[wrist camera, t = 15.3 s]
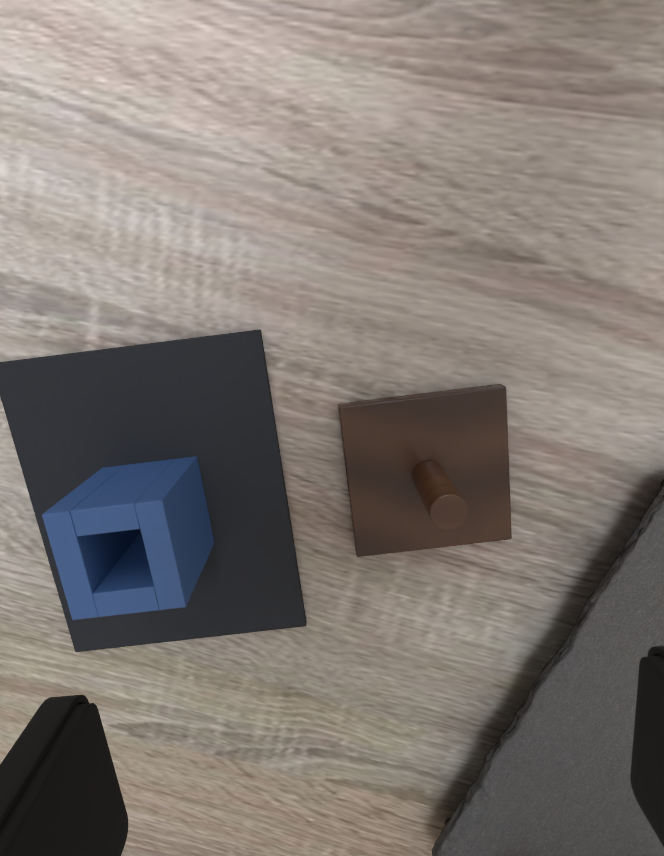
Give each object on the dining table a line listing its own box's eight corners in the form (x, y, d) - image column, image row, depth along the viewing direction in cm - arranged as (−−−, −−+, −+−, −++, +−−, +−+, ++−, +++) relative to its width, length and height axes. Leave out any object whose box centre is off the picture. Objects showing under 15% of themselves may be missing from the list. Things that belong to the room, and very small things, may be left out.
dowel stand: (338, 403, 31) (340, 431, 25) (500, 383, 31) (544, 406, 25) (355, 549, 34) (362, 608, 28) (506, 532, 34) (547, 587, 27)
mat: (-5, 362, 31) (-10, 364, 30) (260, 329, 30) (259, 330, 30) (78, 647, 36) (75, 652, 35) (306, 621, 35) (305, 626, 35)
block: (101, 467, 32) (41, 514, 25) (197, 455, 32) (162, 500, 25) (123, 553, 33) (72, 620, 27) (214, 543, 33) (186, 607, 26)
